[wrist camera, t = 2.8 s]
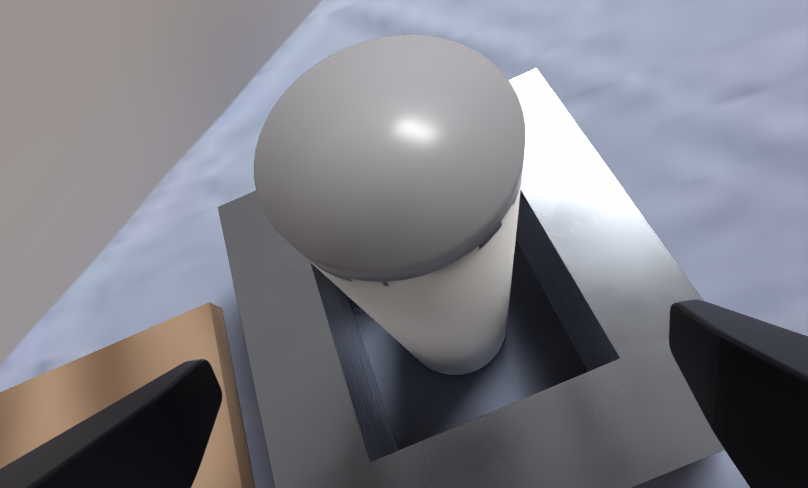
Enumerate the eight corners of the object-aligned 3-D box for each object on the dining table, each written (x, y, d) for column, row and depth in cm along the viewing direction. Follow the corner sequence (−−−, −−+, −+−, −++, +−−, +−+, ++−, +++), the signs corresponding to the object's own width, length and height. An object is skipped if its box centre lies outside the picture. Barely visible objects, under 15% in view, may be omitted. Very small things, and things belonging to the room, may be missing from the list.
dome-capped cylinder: (425, 391, 18) (287, 317, 6) (389, 296, 20) (231, 98, 8) (525, 349, 18) (583, 191, 6) (479, 258, 20) (455, -1, 8)
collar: (352, 572, 16) (302, 621, 12) (269, 248, 22) (217, 207, 18) (713, 424, 15) (791, 422, 11) (528, 136, 22) (536, 68, 17)
